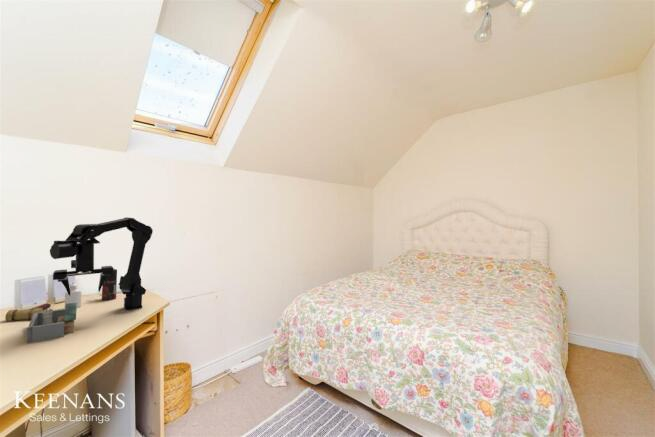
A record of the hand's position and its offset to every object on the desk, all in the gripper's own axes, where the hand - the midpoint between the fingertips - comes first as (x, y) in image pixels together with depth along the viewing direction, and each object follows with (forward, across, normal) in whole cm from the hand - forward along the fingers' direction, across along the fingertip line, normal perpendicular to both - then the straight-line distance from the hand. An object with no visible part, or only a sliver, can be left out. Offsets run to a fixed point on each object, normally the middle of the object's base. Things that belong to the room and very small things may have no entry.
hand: (84, 293), depth 118 cm
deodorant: (+13, -10, -32) cm, 36 cm away
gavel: (+12, +16, -24) cm, 31 cm away
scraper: (+12, +5, +4) cm, 14 cm away
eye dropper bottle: (+12, +4, -25) cm, 28 cm away
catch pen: (+11, +10, +4) cm, 16 cm away
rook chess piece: (+12, +11, +4) cm, 16 cm away
